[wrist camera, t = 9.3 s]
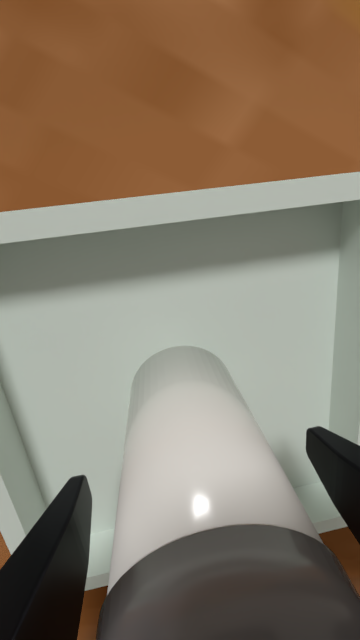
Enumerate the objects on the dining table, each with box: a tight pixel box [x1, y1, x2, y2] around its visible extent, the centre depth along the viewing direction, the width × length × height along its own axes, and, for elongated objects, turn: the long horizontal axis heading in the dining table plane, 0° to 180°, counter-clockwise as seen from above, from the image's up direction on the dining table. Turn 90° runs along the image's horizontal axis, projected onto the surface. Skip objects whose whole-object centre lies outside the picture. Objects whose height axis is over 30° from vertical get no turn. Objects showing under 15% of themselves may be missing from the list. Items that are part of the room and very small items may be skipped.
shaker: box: [96, 346, 360, 640], centre depth 8 cm, size 5×5×9 cm
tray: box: [0, 172, 360, 591], centre depth 12 cm, size 16×16×2 cm
